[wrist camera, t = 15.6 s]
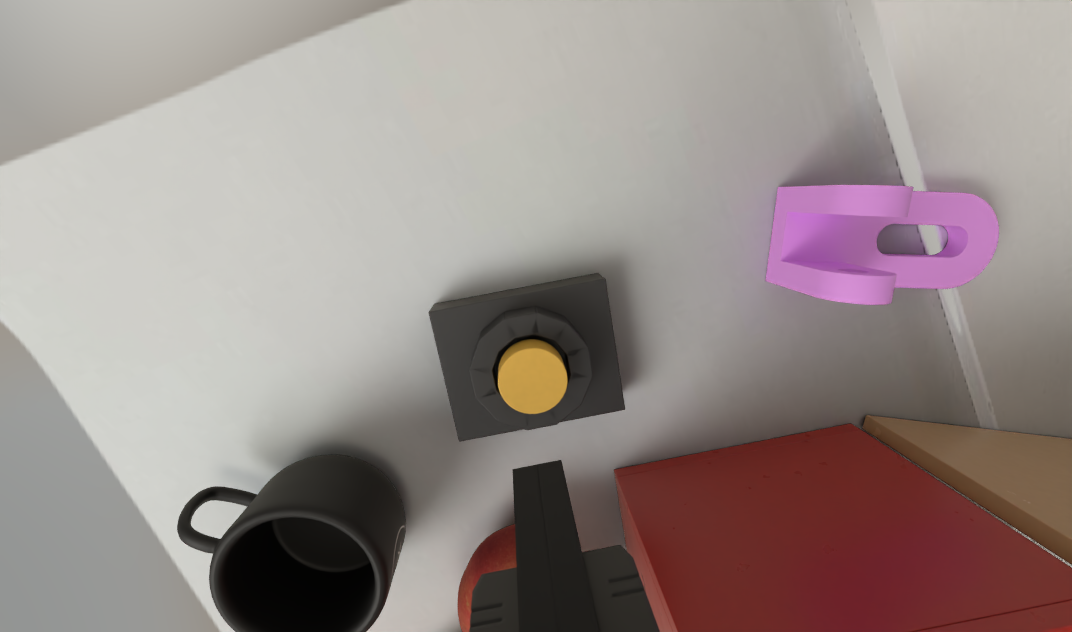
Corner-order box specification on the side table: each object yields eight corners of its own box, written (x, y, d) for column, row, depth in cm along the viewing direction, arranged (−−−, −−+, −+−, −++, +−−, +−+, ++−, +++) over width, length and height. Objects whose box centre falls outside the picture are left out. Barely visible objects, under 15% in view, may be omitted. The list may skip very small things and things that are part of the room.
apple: (489, 620, 36) (484, 736, 28) (444, 526, 34) (426, 623, 26) (597, 581, 36) (622, 688, 28) (558, 485, 34) (573, 570, 26)
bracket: (765, 280, 32) (836, 303, 25) (777, 187, 30) (856, 184, 24) (966, 286, 32) (1088, 309, 26) (986, 194, 31) (1120, 194, 24)
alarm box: (598, 272, 31) (611, 283, 27) (617, 396, 33) (632, 422, 29) (433, 304, 31) (423, 319, 27) (462, 425, 33) (456, 456, 29)
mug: (431, 468, 33) (412, 540, 26) (385, 582, 35) (355, 678, 28) (245, 404, 32) (171, 463, 25) (205, 527, 33) (126, 614, 26)
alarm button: (558, 333, 28) (561, 342, 26) (568, 394, 29) (572, 407, 27) (492, 345, 28) (491, 355, 26) (505, 406, 29) (505, 420, 27)
